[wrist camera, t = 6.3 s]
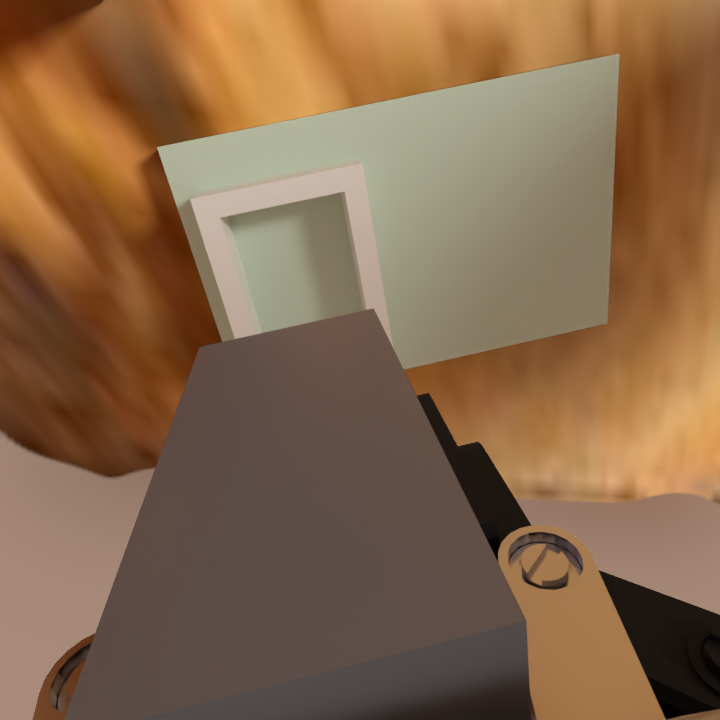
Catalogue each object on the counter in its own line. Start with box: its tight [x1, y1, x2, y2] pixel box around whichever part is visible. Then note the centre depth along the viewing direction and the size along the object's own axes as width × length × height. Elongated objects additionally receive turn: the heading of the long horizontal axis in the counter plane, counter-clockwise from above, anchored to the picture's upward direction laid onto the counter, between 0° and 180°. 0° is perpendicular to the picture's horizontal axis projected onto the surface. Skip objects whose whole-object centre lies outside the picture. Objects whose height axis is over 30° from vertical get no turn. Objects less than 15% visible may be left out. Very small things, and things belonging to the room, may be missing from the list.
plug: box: [64, 308, 531, 720], centre depth 9 cm, size 4×8×8 cm, turn 11°
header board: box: [157, 53, 620, 370], centre depth 26 cm, size 22×14×4 cm, turn 101°
